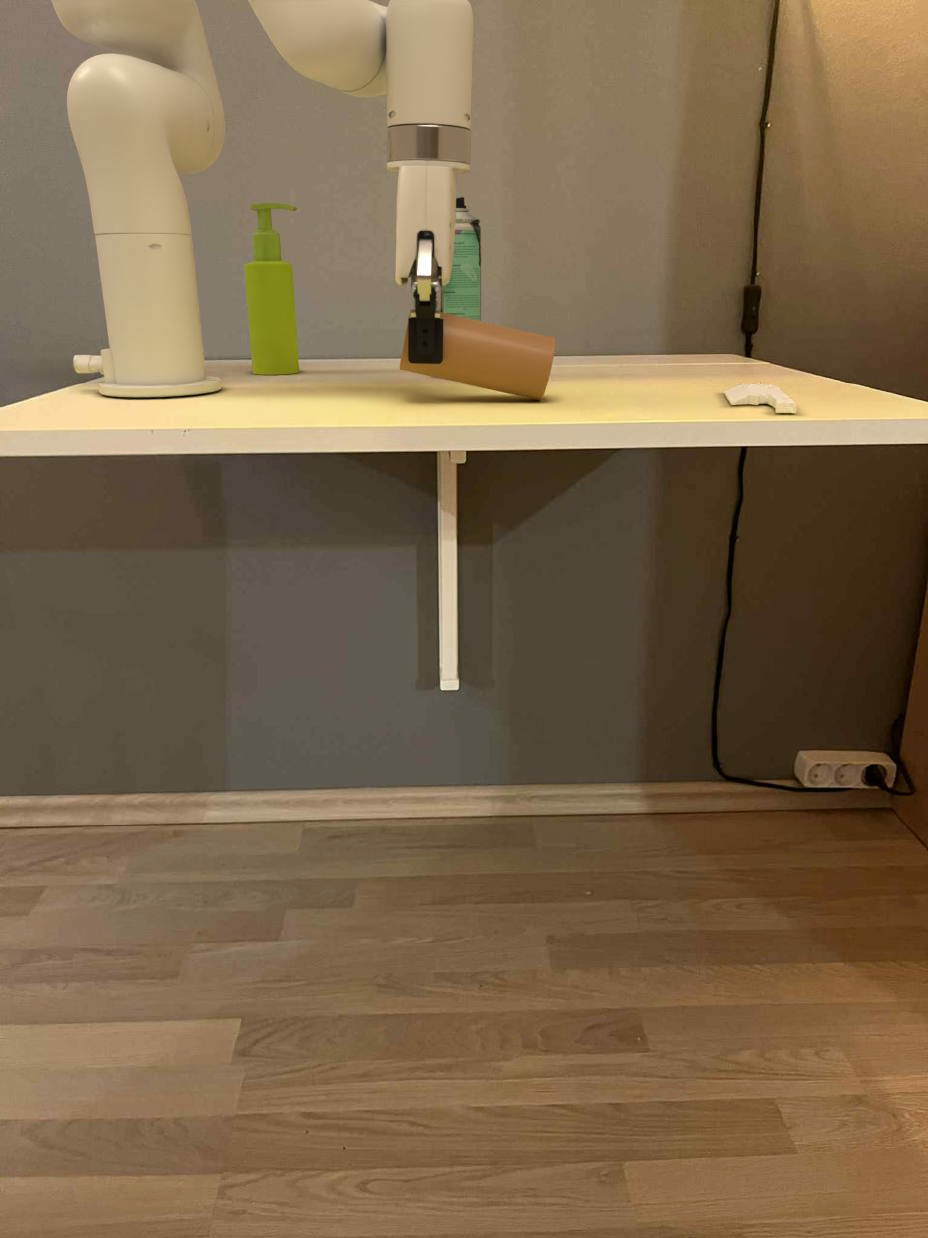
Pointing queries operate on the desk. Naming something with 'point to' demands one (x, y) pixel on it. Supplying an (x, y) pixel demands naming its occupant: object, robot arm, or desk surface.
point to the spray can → (465, 267)
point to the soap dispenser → (270, 300)
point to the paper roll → (489, 357)
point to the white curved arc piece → (761, 396)
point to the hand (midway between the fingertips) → (427, 357)
